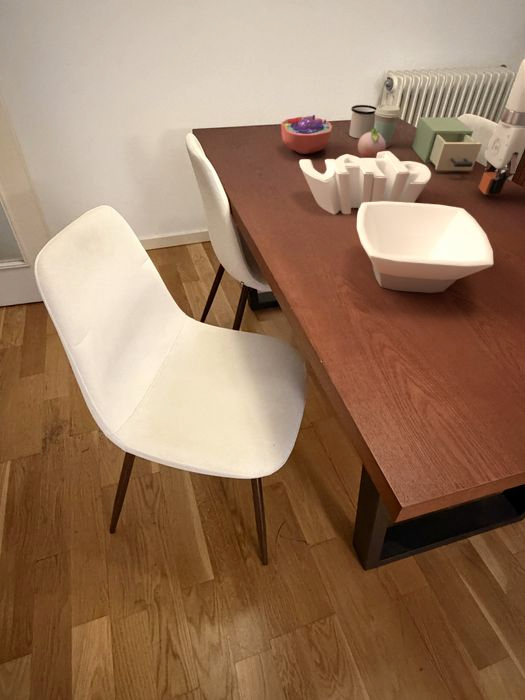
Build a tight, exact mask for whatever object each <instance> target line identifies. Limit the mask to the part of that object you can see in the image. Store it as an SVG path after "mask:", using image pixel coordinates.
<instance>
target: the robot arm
mask: <svg viewBox="0 0 525 700" xmlns="http://www.w3.org/2000/svg"><path fill="white" fill-rule="evenodd" d="M524 151H525V58H524V59H523V60H522V61H521V63H520V65H519V68H518V71H517V74H516V76H515V79H514V81H513V85H512V88H511V90H510V93H509V96H508V99H507V101H506V104H505V106H504V109H503V112H502V114H501V117H500V119H499V120H498V122H497V124H496V126H495V128H494V130H493V132H492V134H491V137H490V139H489V142H488V144H487V146H486V148H485V152H484V154H483V155H484V158H485V160H486V166H485V168H484V172H497V174H496V177H495V179H493V181H492V183H491V186H490V189H489V191H488V193H489V194H488V195H501V194H500V192H501V193H502V191H503V189H504V187H503V185H504V186H505V184H506V182H505V180H506V181H508V179H509V178H510V177H512V176H514V175H515V174H516V169H517V166H518V165H519V163H520V161H521V158H522V156H523V154H524ZM502 171H503V172H502ZM501 173H502V174H501ZM504 183H505V184H504ZM502 188H503V189H502ZM501 190H502V191H501Z"/></svg>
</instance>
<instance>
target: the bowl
mask: <svg viewBox="0 0 525 700" xmlns="http://www.w3.org/2000/svg"><path fill="white" fill-rule="evenodd" d="M356 216H357V217H356V230H357V231H356V232H357V234H358V238H359V241H360V244H361V246H362V248H363V250H364V251H365V253H366V255H367V256H368V258H369V259H370V261H371V265H372V270H373V274H374V277H375V279H376V281H377V283H378V284H379V286H380V287H381V288H382V289H388V290H392V291H401V292H412V293H425V294H426V293H427V294H433V293H443V292H444V291H445V290H447V289H448V288H449V287H451V285H453V284H454V283H455V282H457V280H460V279H462V278H465V277H467V276H470V275H473V274H476V273H478V272H480V271H483V270H485V269H488V268H491V267H493V265H494V249H493V248H492V245H491V243H490V241H489V238H488V235H487V233H486V232H485V231H484V229H483V227H481V226H480V224H479V223H478V221H477V220H476V219H475V217H473V216H472V215H471V214H470V213H469V212H468V211H467V210H465V208H462V207H457V206H450V205H443V204H437V203H436V204H433V203H419V202H414V203H406V202H387V201H380V202H364V203H362V204H361V206H360V208H358V211H357V215H356Z"/></svg>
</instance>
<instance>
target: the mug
mask: <svg viewBox="0 0 525 700" xmlns="http://www.w3.org/2000/svg"><path fill="white" fill-rule="evenodd" d="M376 109H377V106H373V105H369V104H356V105H353V106H351V117H350V124H349V131H348V135H349V136H350V137H351V138H353V139H358V140H360V138H361V137H362V136H363V135H364V134H365V133H368V132H371V130H374V123H375V110H376Z"/></svg>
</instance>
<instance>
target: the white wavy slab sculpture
mask: <svg viewBox="0 0 525 700" xmlns="http://www.w3.org/2000/svg"><path fill="white" fill-rule="evenodd" d="M324 164H325V168H326V169H325V172H324V173H321V172H318V170H316V169H315V168H314V165H313V162H312V160H311V159H310V158H309V159H307V158H303V159H300V160H299V167H300V168H301V169H300V170H301V172H302V173H303V176H304V179H305V180H306V183H307V186H308V187H309V189H310V192H311V194H312V196H313V199H314V201H315V202H316V204H317V205H318V206H319V207H320V208H321V209H323V210H324V211H326V212H327V213H329V214H331V215H336V214H338V213H339V212H341V214H342V215H351V214H352V209H353V208H355V209H356V208H357V209H359V208H360V206H361V204H362V203H364V202H380V201H387V202H406V203H416V201H417V199H418V198H419V196H420V194H421V193H422V192H423V190H424V188H425V187H426V185H427V184H428V182H429V181H430V179H431V177H432V172H431V170H430V169H429V167H428V166H427V165H426V164H424V163H420V162H417V161H413V160H412V161H411V160H403V161H402V160H400V159H399V158H398V157H397V156H396V155H395V154H394V153H393V152H391V151H390V150H384V151H382V152H378V153H377V157H376V158H363V157H358V156H356V155H352V154H349V153H346V154H342V155H340V156H338V157H337V158H336V159H335V158H326V159H324Z"/></svg>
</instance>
